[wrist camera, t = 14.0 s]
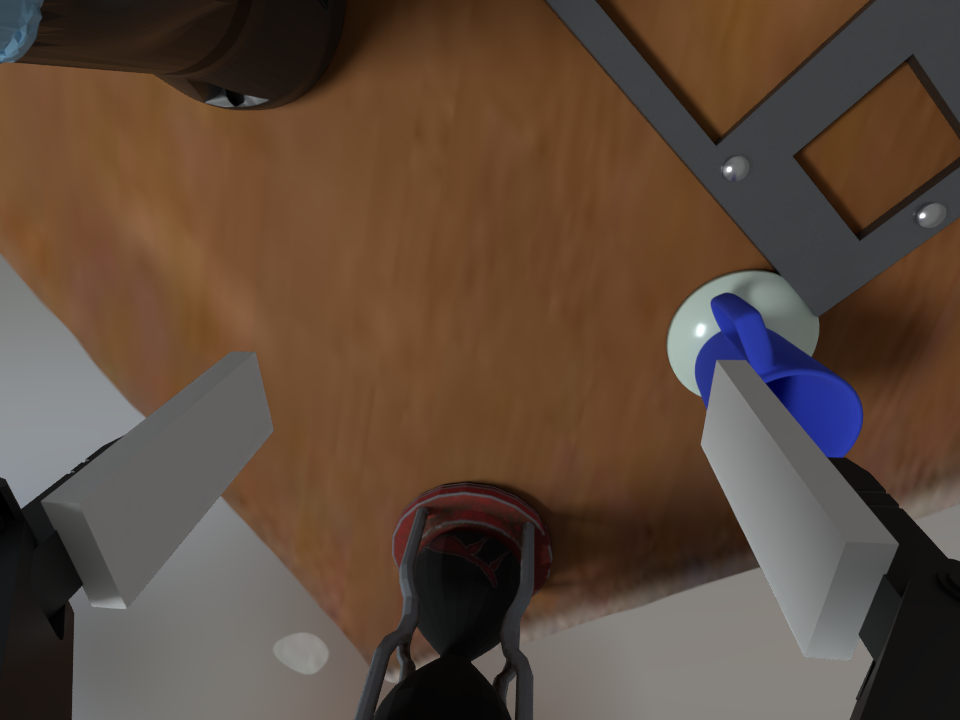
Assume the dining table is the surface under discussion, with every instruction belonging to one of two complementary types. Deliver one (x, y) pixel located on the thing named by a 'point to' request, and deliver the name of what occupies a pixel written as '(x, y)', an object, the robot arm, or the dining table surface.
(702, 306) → the pale grey rounded piece
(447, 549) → the hourglass
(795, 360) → the mug
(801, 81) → the gray cutout board
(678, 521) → the dining table surface
